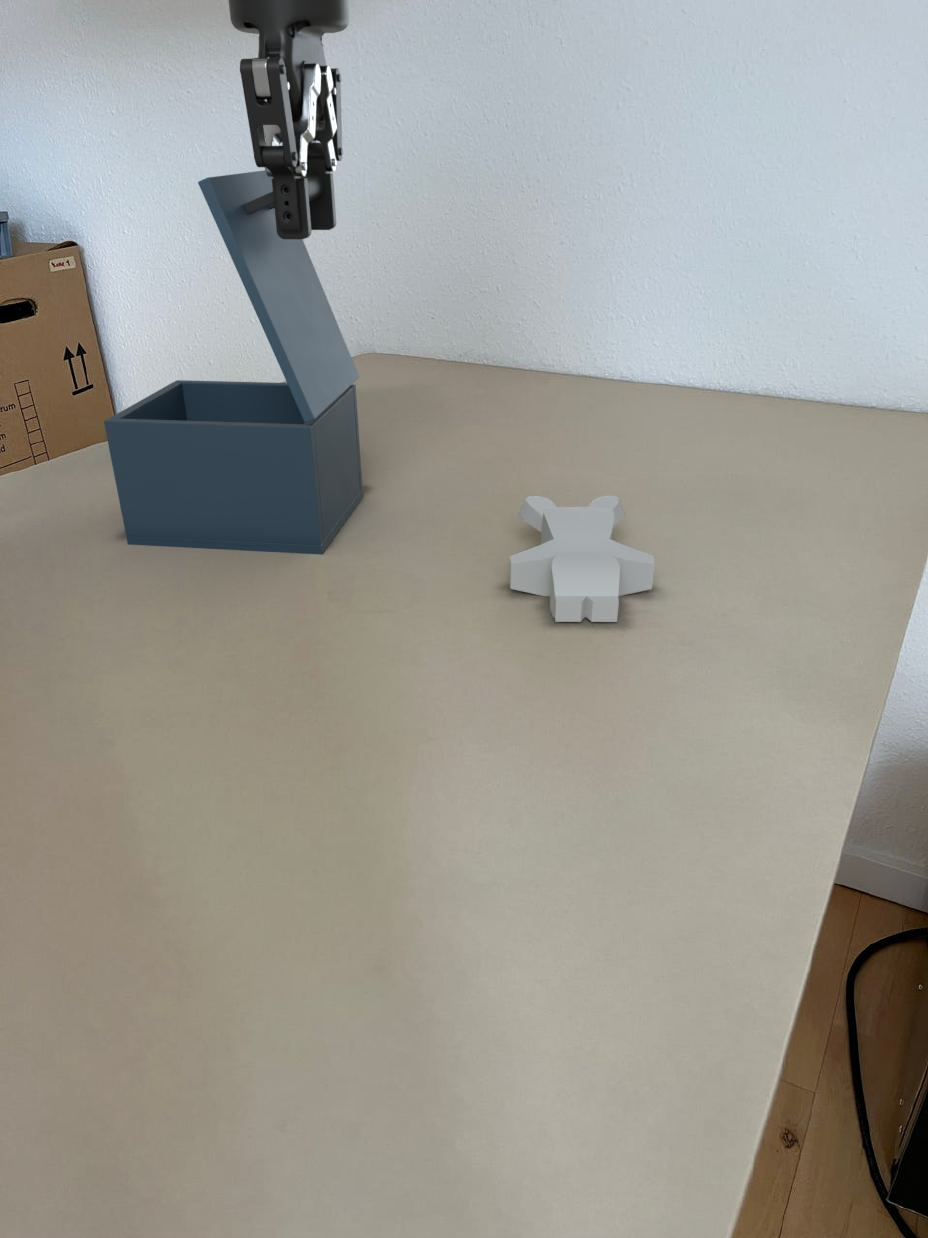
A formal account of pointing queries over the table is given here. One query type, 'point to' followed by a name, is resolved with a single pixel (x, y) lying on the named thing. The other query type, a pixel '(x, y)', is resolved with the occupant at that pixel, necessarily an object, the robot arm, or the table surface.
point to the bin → (235, 468)
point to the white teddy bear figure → (579, 560)
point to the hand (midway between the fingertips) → (308, 232)
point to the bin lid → (282, 288)
